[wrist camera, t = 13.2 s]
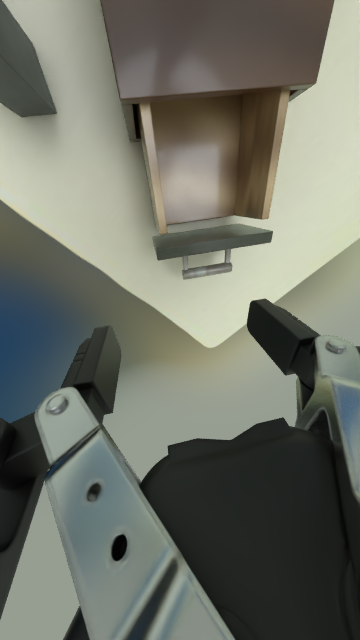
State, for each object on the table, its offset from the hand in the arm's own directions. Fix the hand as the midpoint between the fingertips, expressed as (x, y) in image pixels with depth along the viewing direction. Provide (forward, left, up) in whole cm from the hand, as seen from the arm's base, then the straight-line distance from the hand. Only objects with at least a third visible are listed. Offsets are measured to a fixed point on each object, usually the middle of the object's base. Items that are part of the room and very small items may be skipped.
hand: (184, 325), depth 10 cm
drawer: (-6, +6, -20) cm, 22 cm away
